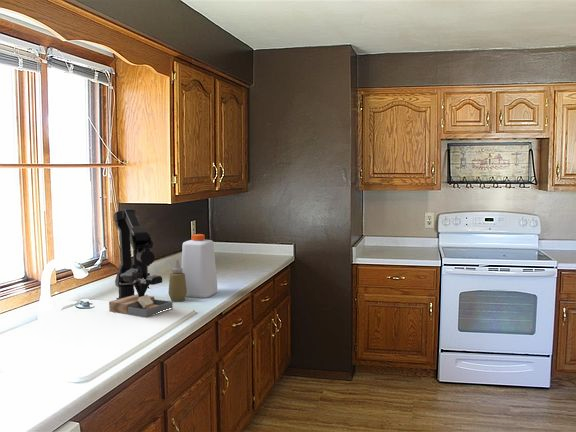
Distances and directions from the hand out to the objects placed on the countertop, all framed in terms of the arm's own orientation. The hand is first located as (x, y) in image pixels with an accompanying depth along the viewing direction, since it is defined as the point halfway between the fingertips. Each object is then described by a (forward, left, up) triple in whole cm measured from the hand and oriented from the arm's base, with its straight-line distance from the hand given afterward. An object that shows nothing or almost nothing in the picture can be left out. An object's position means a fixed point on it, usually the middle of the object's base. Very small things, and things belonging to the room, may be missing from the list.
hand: (141, 298), depth 244 cm
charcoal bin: (+5, 0, -5) cm, 7 cm away
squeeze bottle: (+2, +21, -5) cm, 22 cm away
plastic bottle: (+3, +35, -5) cm, 35 cm away
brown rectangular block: (-5, 0, -5) cm, 7 cm away
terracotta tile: (+6, 0, -2) cm, 7 cm away
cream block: (+2, 0, -2) cm, 2 cm away
